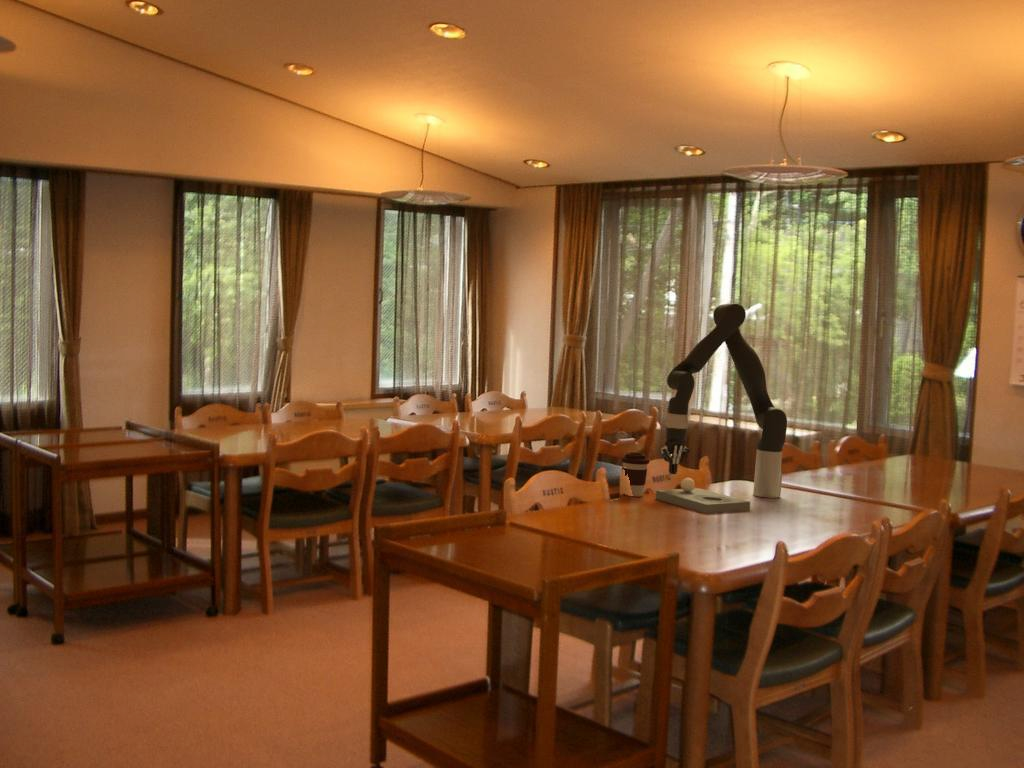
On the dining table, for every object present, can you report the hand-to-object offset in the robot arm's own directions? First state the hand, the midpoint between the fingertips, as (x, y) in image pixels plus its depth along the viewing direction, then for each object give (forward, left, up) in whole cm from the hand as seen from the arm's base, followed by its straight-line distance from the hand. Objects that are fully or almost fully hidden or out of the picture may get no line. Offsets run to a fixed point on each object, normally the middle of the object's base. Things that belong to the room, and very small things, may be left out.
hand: (672, 473), depth 376 cm
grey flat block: (0, +16, -8) cm, 18 cm away
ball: (0, +8, -3) cm, 9 cm away
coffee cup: (+14, -5, -8) cm, 17 cm away
